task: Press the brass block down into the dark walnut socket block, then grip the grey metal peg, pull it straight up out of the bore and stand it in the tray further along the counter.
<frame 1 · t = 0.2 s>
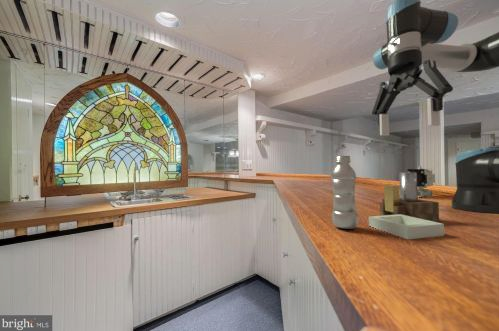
hand: (406, 131, 55), 27 cm above the counter, tool pointing down, fingers open, 13 cm apart
grey metal peg: (408, 195, 64), in the socket block
tray: (403, 230, 52), on the counter
socket block: (409, 219, 64), on the counter
brass block: (391, 198, 62), point 7 cm above the counter, slide at 0.0 cm
plastic bottle: (344, 228, 55), on the counter
ball valve: (422, 197, 111), on the counter
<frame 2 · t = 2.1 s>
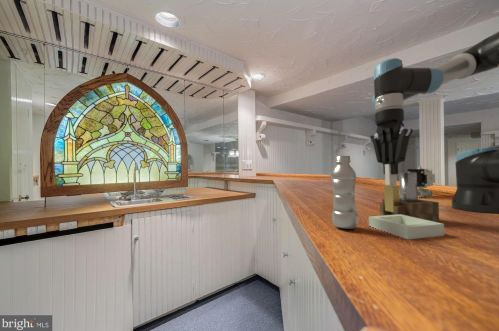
hand: (391, 184, 63), 11 cm above the counter, tool pointing down, fingers closed
brass block: (391, 198, 62), point 7 cm above the counter, slide at 0.0 cm, touching gripper
everything else where it was.
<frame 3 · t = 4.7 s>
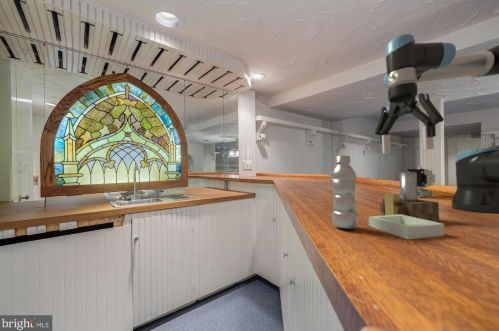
hand: (405, 151, 64), 22 cm above the counter, tool pointing down, fingers open, 13 cm apart
brass block: (392, 206, 62), point 4 cm above the counter, slide at 2.6 cm
everything else where it was.
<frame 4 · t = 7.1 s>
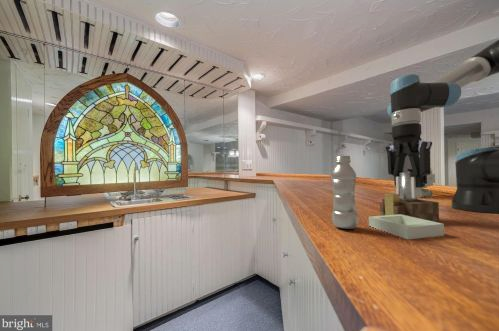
hand: (408, 196, 64), 7 cm above the counter, tool pointing down, fingers closed on grey metal peg, 4 cm apart
grey metal peg: (408, 195, 64), in the socket block, touching gripper
everything else where it was.
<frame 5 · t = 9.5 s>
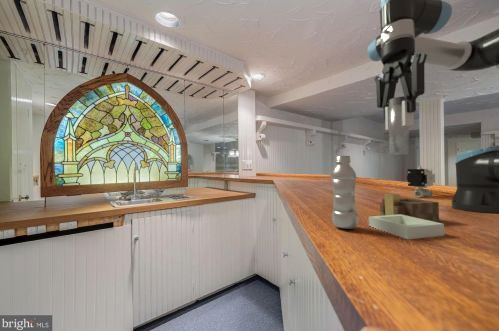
hand: (399, 127, 54), 28 cm above the counter, tool pointing down, fingers closed on grey metal peg, 4 cm apart
grey metal peg: (398, 126, 54), point 28 cm above the counter, touching gripper
everything else where it was.
when the fingers open (9 cm above the counter, at t = 12.4 s): grey metal peg stays where it is, resting on tray.
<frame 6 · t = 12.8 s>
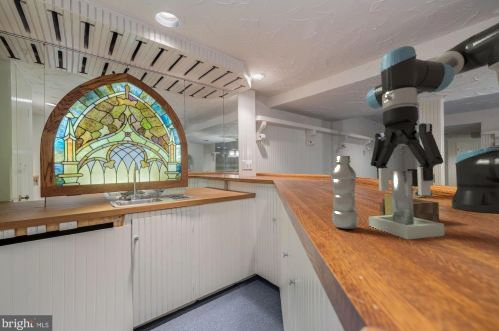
hand: (402, 192, 52), 10 cm above the counter, tool pointing down, fingers open, 10 cm apart
grey metal peg: (402, 199, 52), in the tray, point 8 cm above the counter
everything else where it was.
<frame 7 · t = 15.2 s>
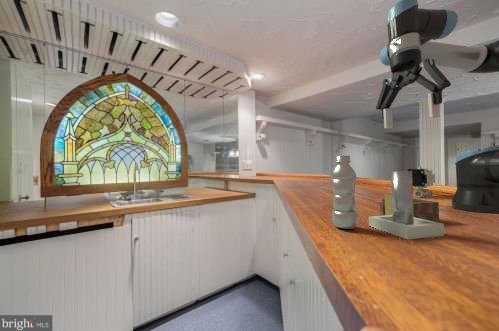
hand: (409, 123, 60), 30 cm above the counter, tool pointing down, fingers open, 13 cm apart
nothing on the counter moved.
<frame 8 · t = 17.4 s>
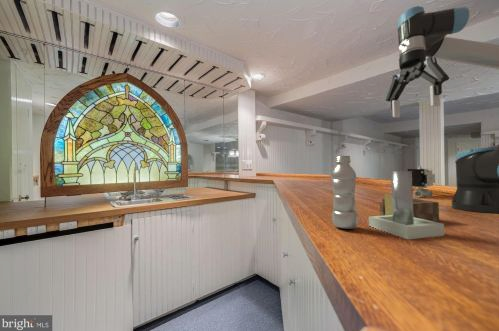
hand: (414, 112, 72), 37 cm above the counter, tool pointing down, fingers open, 13 cm apart
nothing on the counter moved.
at the end: brass block slide at 2.6 cm; grey metal peg inside the target area on the tray (0.1 cm from its centre), point 8.1 cm above the tray's base; grey metal peg touching tray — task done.
